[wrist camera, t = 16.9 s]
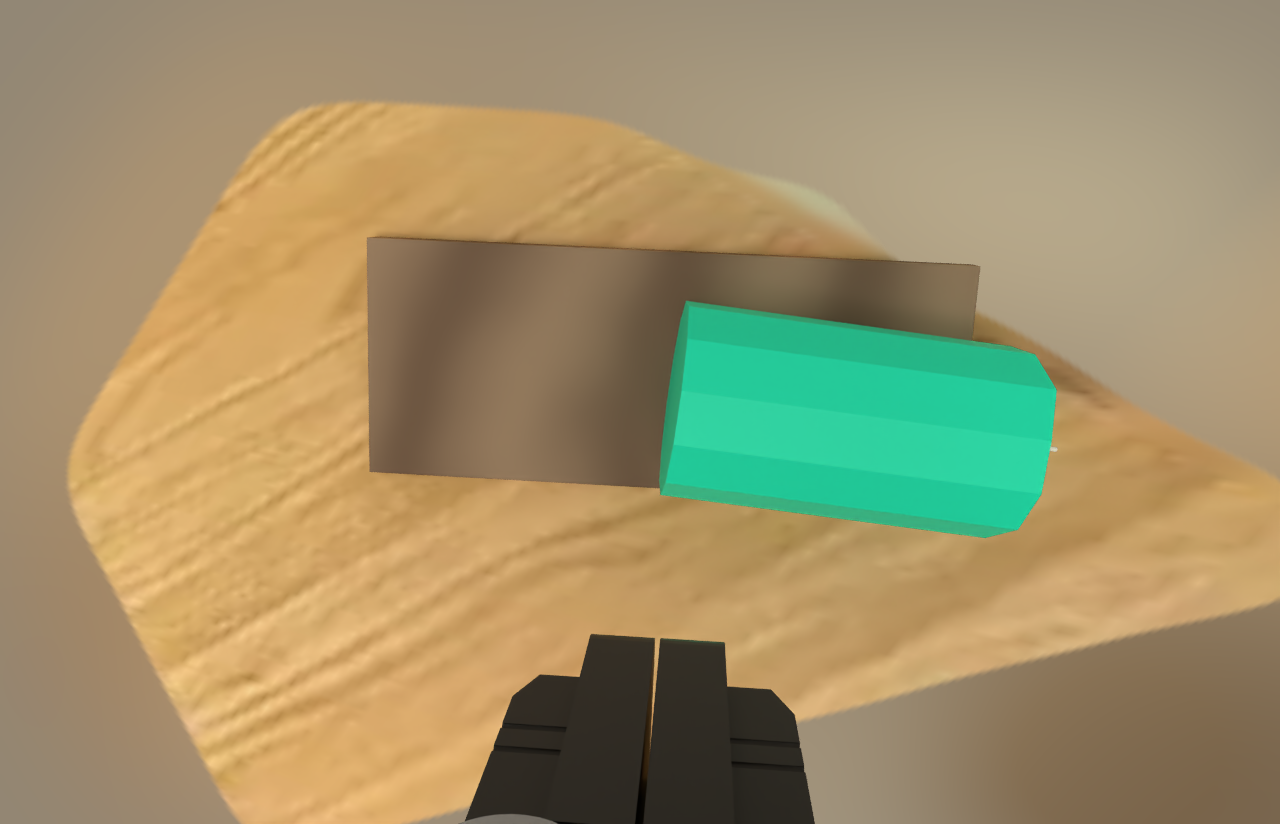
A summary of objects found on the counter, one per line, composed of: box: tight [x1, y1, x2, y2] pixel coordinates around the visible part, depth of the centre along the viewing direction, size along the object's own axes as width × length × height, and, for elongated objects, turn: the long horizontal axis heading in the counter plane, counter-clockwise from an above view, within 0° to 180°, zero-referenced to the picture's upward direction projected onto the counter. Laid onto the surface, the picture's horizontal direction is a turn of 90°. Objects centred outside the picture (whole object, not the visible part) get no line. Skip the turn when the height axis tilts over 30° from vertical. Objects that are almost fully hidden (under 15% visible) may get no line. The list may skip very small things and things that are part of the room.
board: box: [367, 237, 980, 488], centre depth 34 cm, size 20×8×1 cm, turn 87°
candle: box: [659, 301, 1057, 538], centre depth 31 cm, size 6×6×12 cm
